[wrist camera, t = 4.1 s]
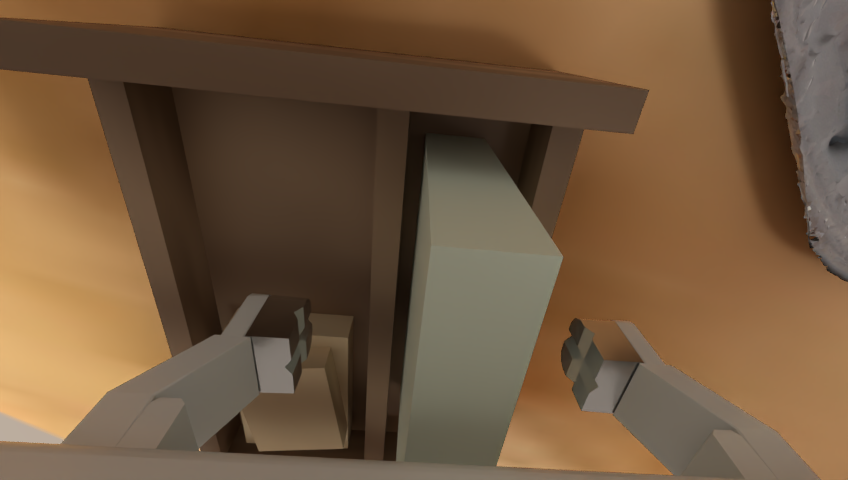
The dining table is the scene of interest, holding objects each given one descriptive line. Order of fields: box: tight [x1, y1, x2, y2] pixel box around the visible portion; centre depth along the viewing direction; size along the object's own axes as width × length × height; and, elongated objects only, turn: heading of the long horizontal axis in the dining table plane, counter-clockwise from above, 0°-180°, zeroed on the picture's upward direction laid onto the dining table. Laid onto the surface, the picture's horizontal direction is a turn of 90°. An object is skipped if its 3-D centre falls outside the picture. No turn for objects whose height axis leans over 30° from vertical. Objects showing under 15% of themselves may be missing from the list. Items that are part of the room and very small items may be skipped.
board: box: [396, 133, 563, 466], centre depth 11 cm, size 11×2×7 cm, turn 174°
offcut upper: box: [242, 347, 348, 451], centre depth 14 cm, size 4×3×1 cm
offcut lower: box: [223, 308, 353, 448], centre depth 15 cm, size 6×4×1 cm
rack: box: [0, 18, 649, 461], centre depth 13 cm, size 17×12×5 cm
